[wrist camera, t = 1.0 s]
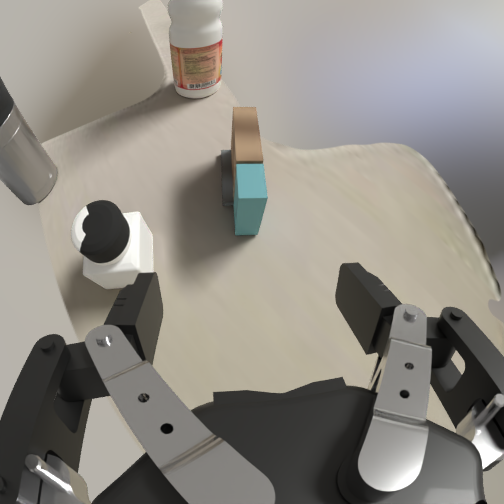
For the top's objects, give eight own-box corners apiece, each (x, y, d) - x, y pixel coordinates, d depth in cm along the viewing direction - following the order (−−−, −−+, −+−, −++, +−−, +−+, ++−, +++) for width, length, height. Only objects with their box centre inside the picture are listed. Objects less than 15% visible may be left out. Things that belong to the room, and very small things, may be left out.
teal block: (257, 234, 38) (267, 197, 29) (235, 235, 37) (238, 198, 28) (254, 205, 39) (263, 163, 30) (233, 205, 39) (236, 164, 30)
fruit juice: (165, 90, 47) (151, -32, 21) (197, 70, 50) (195, -42, 24) (198, 105, 46) (194, -33, 20) (230, 84, 49) (239, -39, 23)
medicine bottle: (153, 234, 37) (127, 187, 25) (154, 285, 34) (123, 254, 23) (106, 240, 36) (68, 197, 24) (105, 289, 33) (60, 261, 22)
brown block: (265, 204, 40) (276, 160, 30) (222, 205, 39) (222, 161, 30) (259, 153, 43) (267, 107, 33) (221, 154, 42) (221, 107, 33)
